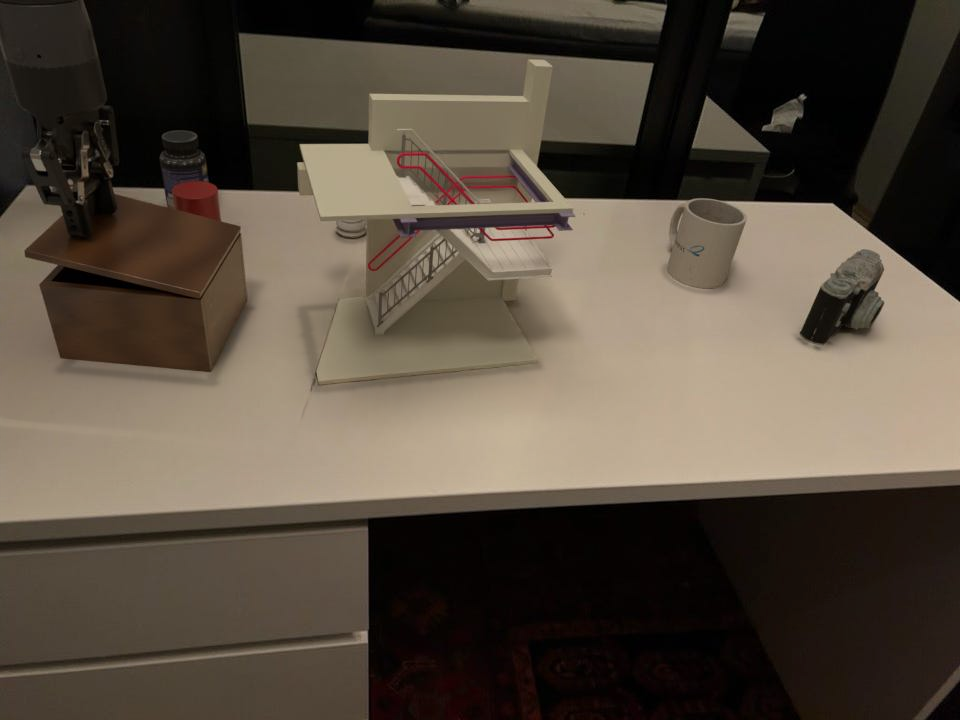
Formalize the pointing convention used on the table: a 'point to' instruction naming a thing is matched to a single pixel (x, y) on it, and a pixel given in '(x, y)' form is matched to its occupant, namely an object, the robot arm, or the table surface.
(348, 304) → the staircase
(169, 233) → the lid
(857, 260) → the camera
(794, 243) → the table surface
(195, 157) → the pill bottle
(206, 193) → the can
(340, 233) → the rook chess piece
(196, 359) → the chest
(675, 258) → the mug
